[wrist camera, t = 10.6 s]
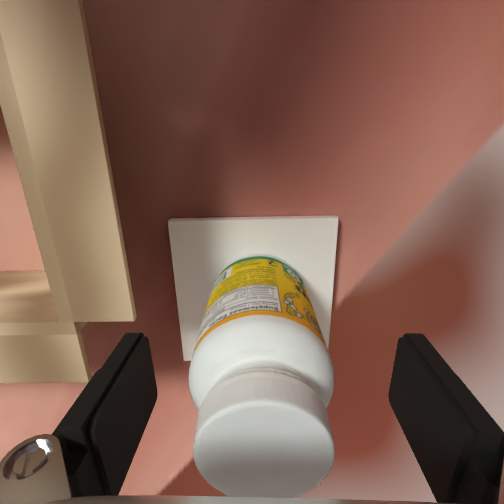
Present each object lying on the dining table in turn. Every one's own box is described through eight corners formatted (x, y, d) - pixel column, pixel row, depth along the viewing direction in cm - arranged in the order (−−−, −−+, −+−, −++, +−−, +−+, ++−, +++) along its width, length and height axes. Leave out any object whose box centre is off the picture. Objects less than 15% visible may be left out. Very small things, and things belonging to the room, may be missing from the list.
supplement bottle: (202, 259, 17) (141, 393, 8) (299, 243, 16) (354, 365, 7) (223, 340, 19) (192, 527, 9) (310, 328, 18) (365, 509, 9)
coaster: (335, 215, 16) (338, 217, 16) (325, 352, 20) (327, 359, 19) (170, 218, 17) (167, 220, 16) (186, 354, 20) (183, 360, 19)
